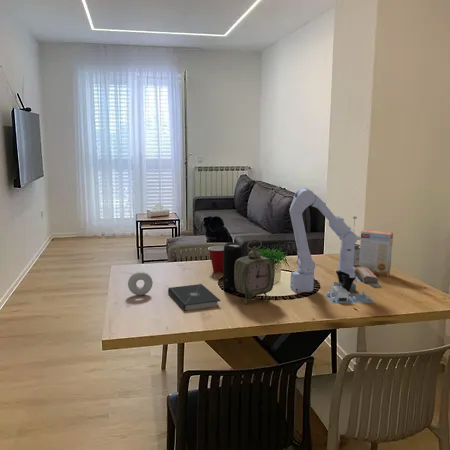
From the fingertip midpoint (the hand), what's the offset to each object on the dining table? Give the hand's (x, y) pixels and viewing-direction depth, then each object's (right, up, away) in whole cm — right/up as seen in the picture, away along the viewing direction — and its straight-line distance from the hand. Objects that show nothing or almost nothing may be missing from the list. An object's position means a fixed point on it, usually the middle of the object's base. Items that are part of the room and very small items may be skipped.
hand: (344, 289), depth 202 cm
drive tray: (-1, -3, -10) cm, 11 cm away
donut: (-86, -2, -8) cm, 86 cm away
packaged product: (+14, +1, +18) cm, 23 cm away
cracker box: (+22, +3, +29) cm, 36 cm away
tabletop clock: (-40, -3, -11) cm, 41 cm away
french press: (+16, +7, +49) cm, 52 cm away
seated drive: (-5, -2, -11) cm, 12 cm away
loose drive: (0, -1, 0) cm, 1 cm away
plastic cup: (-54, +5, +29) cm, 62 cm away
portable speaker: (-48, 0, +3) cm, 48 cm away
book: (-64, -3, -12) cm, 65 cm away
